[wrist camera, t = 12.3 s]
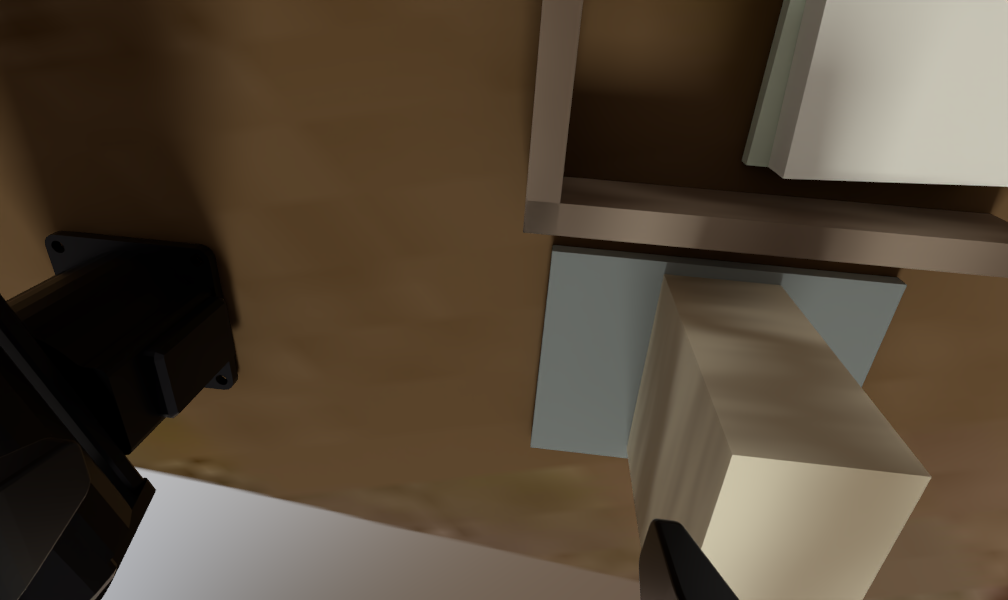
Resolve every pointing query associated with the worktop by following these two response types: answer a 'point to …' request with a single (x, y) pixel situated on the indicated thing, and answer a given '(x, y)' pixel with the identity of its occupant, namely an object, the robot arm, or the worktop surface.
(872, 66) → the offcut upper
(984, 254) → the rack
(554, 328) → the mat
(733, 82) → the worktop surface
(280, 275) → the worktop surface
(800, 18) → the offcut lower
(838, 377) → the cream rectangular block
